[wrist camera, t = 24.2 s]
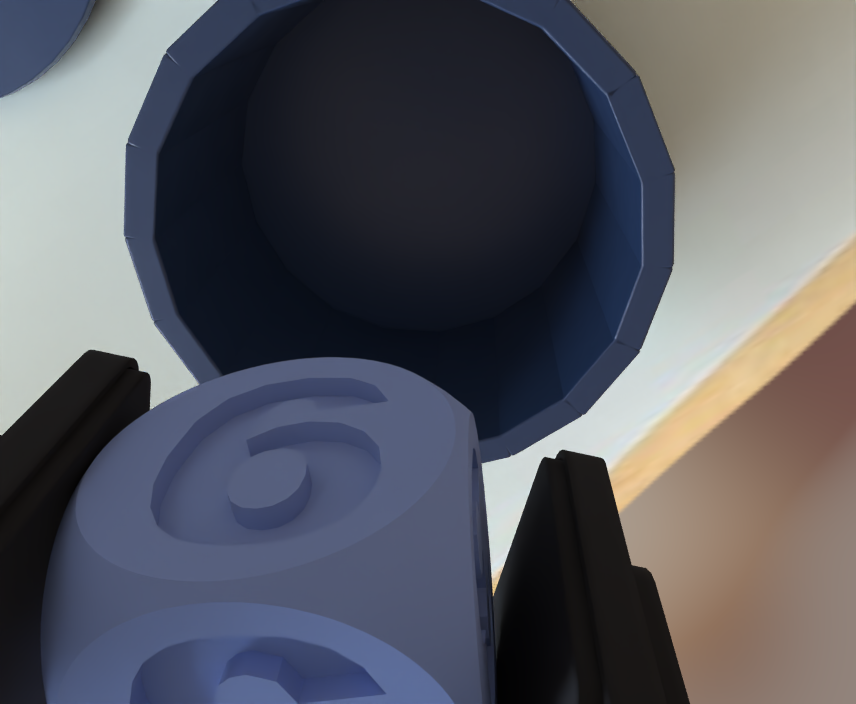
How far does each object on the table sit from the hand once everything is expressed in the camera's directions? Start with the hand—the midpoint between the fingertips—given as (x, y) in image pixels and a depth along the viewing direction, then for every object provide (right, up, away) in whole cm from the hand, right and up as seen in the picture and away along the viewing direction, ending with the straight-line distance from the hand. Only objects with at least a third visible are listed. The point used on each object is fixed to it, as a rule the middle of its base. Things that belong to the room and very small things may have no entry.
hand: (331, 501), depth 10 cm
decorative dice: (0, 0, +1) cm, 1 cm away
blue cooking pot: (+1, +8, +16) cm, 18 cm away
